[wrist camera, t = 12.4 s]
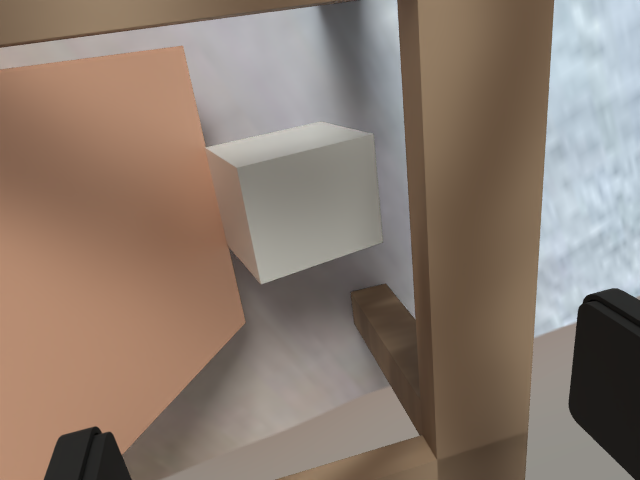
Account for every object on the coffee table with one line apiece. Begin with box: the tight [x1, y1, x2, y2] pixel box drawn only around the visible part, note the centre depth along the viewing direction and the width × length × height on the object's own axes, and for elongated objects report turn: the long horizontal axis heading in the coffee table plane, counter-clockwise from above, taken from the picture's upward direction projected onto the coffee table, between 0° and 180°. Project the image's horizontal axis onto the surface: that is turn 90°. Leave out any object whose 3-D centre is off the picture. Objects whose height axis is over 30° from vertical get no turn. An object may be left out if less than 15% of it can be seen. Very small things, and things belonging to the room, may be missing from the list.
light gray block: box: [205, 121, 383, 284], centre depth 22 cm, size 5×5×6 cm
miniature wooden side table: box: [0, 0, 554, 480], centre depth 19 cm, size 25×22×14 cm
